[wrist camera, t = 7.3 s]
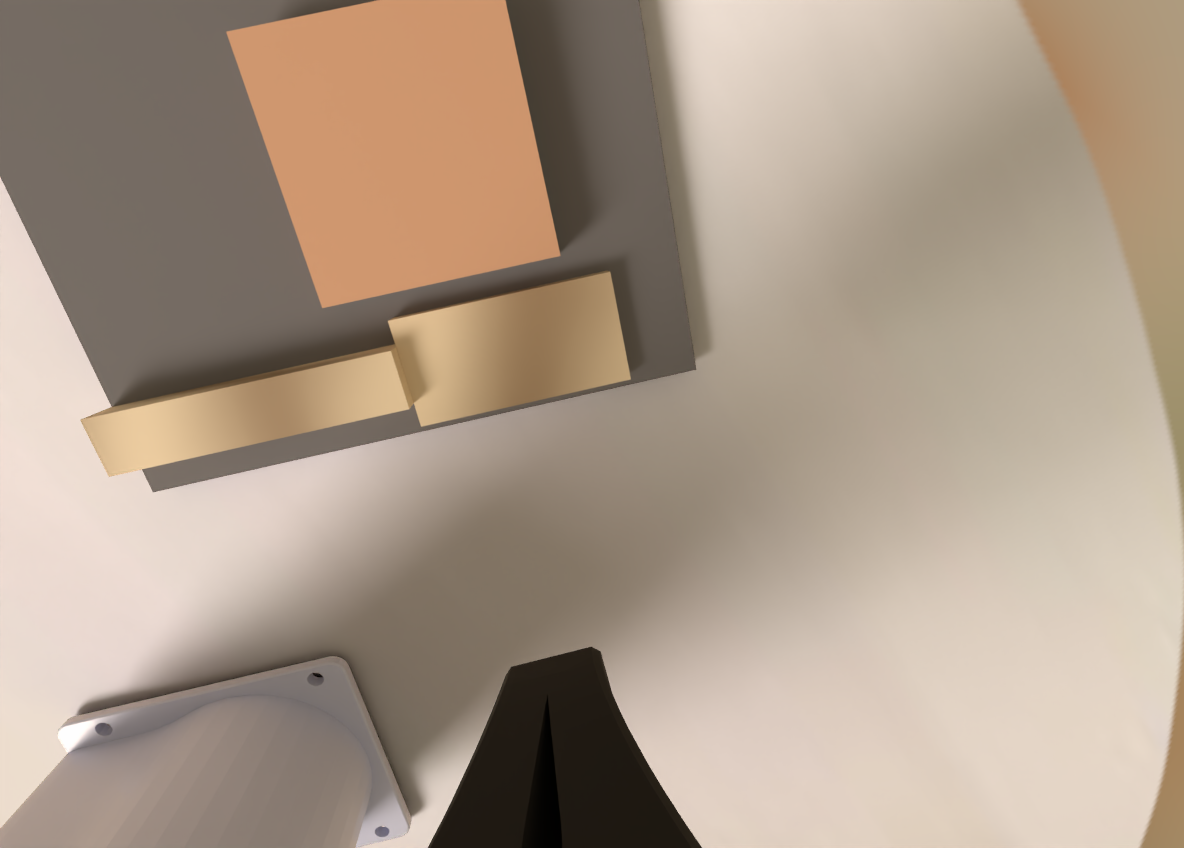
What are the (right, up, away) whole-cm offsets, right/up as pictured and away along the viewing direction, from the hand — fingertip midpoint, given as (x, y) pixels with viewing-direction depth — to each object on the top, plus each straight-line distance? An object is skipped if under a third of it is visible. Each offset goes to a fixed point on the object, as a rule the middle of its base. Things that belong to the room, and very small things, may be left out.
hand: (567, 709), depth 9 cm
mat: (-6, +11, +7) cm, 14 cm away
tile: (-7, +10, +5) cm, 13 cm away
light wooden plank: (-5, +6, +8) cm, 11 cm away
